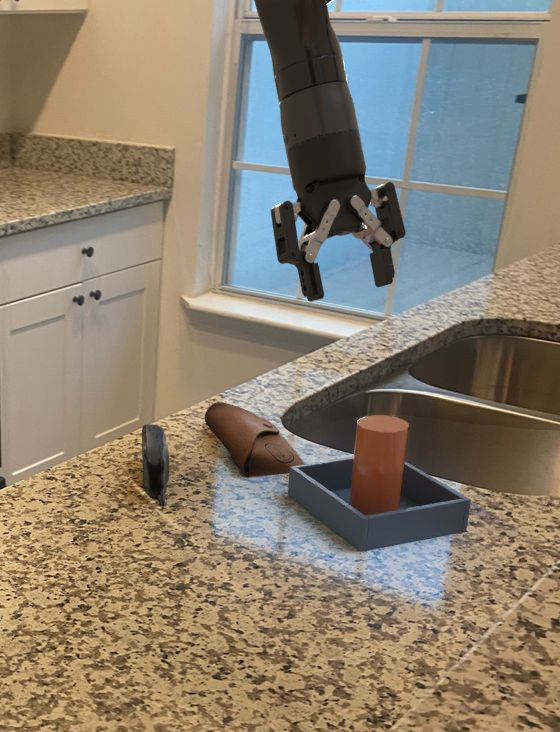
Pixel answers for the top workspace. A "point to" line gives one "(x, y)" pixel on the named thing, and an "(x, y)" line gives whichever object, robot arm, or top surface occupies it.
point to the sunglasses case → (251, 441)
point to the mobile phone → (155, 462)
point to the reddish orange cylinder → (378, 464)
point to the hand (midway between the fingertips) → (351, 292)
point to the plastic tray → (408, 524)
